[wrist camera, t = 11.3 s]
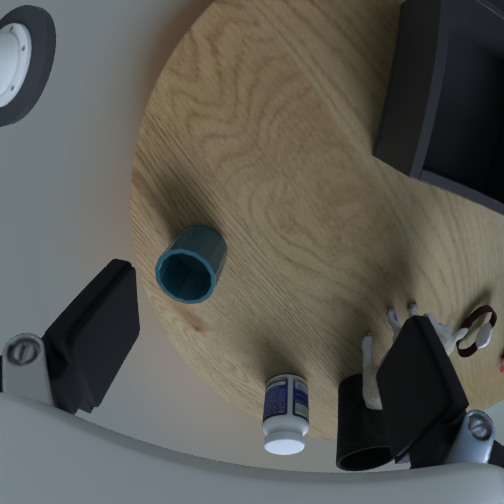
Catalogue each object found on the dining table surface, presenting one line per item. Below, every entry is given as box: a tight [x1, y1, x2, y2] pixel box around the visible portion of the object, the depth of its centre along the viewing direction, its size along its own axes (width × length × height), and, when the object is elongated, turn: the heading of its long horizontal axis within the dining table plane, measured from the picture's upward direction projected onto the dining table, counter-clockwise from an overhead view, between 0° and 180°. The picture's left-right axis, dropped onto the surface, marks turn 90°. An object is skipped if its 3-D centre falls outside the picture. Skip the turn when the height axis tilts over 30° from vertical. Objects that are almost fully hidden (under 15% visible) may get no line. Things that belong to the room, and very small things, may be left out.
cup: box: [336, 374, 394, 471], centre depth 32 cm, size 8×8×12 cm
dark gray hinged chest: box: [372, 0, 504, 215], centre depth 17 cm, size 16×14×9 cm
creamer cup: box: [155, 225, 227, 304], centre depth 28 cm, size 5×6×6 cm
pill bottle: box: [262, 374, 309, 455], centre depth 34 cm, size 6×6×10 cm
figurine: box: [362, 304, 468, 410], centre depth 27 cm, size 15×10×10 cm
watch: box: [456, 305, 497, 357], centre depth 30 cm, size 8×5×4 cm, turn 166°
